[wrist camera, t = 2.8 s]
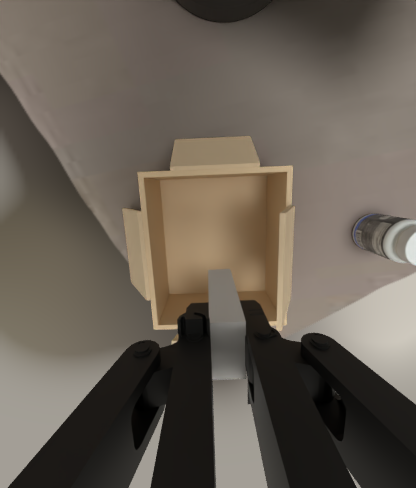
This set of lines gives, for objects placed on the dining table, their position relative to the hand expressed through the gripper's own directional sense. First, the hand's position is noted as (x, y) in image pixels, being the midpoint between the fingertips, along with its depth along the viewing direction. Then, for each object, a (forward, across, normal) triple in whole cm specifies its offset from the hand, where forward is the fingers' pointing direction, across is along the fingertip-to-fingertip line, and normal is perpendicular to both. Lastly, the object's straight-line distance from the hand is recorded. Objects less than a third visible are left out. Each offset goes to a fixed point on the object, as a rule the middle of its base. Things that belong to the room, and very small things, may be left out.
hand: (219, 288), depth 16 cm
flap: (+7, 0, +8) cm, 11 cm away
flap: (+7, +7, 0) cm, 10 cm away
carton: (+15, 0, 0) cm, 15 cm away
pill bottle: (+16, +20, 0) cm, 25 cm away
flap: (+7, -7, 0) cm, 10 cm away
